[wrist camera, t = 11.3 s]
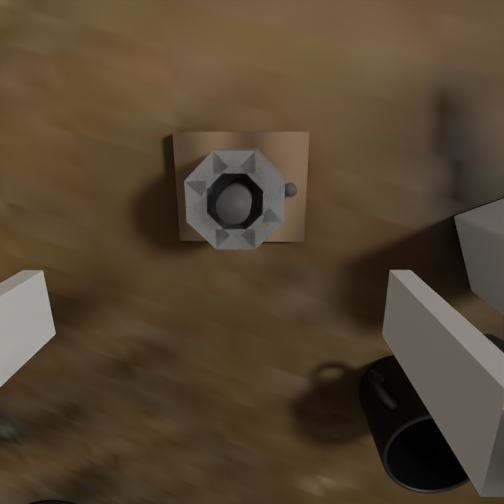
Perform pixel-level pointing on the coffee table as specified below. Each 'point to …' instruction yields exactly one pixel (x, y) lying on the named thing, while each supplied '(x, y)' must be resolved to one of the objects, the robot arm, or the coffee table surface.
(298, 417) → the coffee table surface
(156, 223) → the coffee table surface
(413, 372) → the robot arm
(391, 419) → the mug
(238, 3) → the coffee table surface
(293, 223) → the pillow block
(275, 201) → the ring
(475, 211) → the soap bottle
